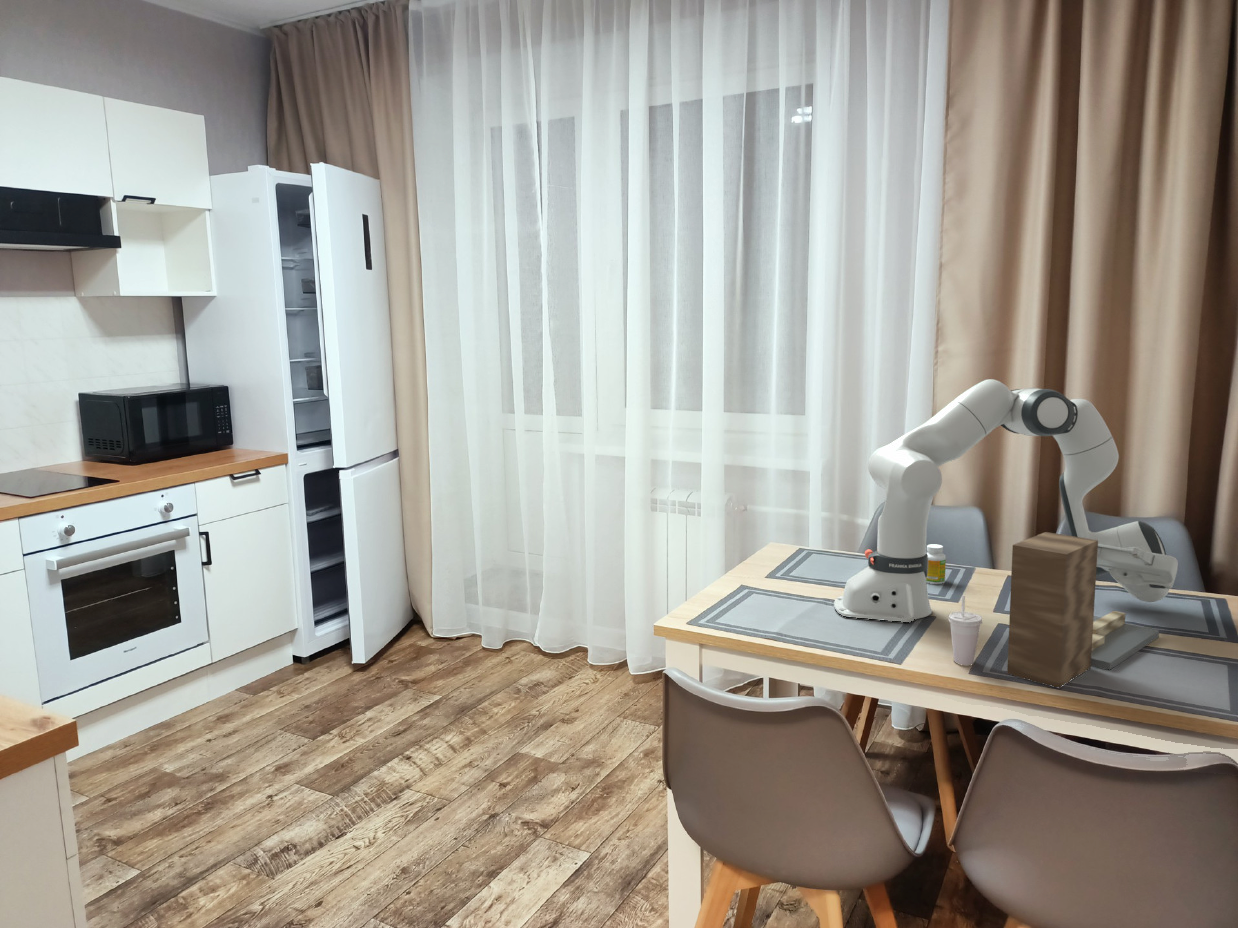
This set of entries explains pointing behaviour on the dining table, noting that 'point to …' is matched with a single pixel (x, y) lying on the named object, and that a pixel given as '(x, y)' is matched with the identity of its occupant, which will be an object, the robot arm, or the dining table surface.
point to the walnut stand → (1052, 607)
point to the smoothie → (964, 635)
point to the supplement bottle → (936, 564)
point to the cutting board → (1121, 644)
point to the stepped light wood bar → (1106, 627)
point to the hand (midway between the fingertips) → (1112, 547)
